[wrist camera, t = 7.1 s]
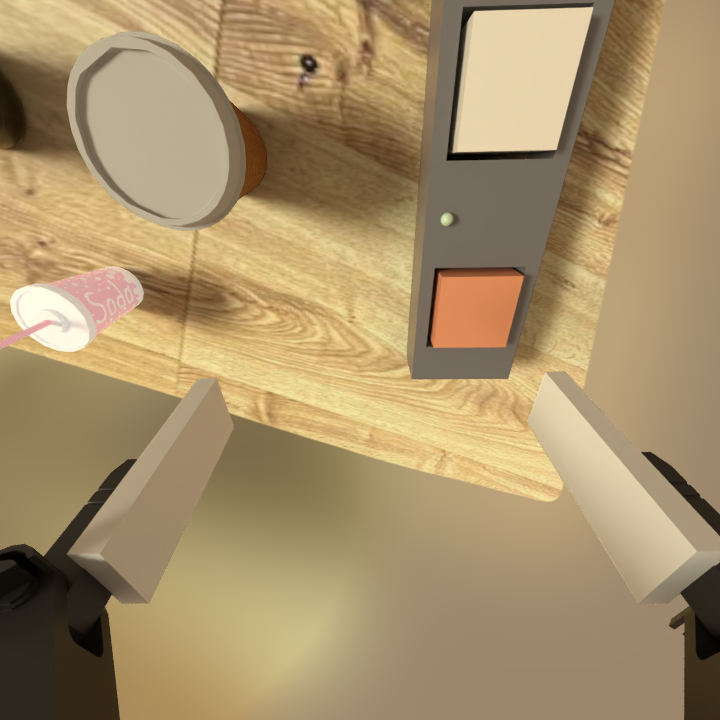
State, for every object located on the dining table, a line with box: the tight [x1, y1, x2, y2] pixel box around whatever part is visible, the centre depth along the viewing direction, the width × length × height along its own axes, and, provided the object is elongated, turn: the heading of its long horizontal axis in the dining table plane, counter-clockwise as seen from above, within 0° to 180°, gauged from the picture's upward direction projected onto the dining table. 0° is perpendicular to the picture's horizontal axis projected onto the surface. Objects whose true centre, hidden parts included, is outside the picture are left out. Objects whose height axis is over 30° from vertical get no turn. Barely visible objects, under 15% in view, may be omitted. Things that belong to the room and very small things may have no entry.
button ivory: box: [447, 7, 594, 155], centre depth 22 cm, size 7×7×5 cm
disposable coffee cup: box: [67, 31, 267, 231], centre depth 22 cm, size 10×10×12 cm
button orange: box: [428, 267, 524, 348], centre depth 31 cm, size 7×7×5 cm
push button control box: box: [407, 0, 615, 379], centre depth 26 cm, size 36×10×6 cm, turn 1°
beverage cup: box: [0, 266, 144, 352], centre depth 28 cm, size 6×6×14 cm
